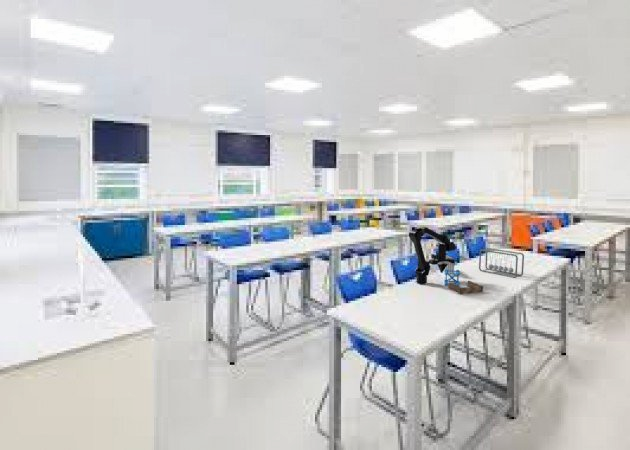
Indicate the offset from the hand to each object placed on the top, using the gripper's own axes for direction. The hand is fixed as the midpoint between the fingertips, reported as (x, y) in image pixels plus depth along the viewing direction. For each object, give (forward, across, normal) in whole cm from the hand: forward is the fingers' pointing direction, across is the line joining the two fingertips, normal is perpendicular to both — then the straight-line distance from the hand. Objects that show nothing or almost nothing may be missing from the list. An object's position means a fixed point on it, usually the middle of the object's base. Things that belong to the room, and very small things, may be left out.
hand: (441, 272), depth 276 cm
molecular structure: (+6, 0, +12) cm, 14 cm away
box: (+5, 0, +26) cm, 27 cm away
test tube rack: (+6, -18, -17) cm, 26 cm away
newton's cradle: (+6, -54, -3) cm, 55 cm away
